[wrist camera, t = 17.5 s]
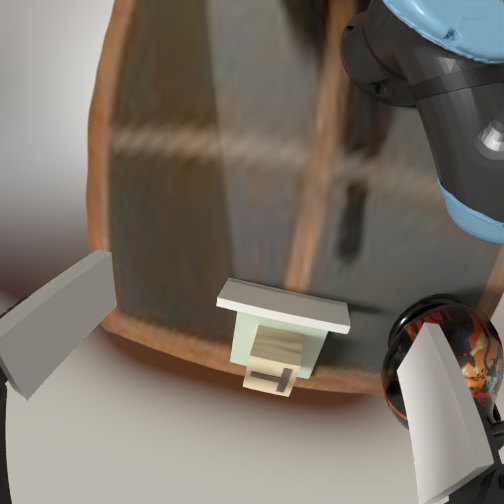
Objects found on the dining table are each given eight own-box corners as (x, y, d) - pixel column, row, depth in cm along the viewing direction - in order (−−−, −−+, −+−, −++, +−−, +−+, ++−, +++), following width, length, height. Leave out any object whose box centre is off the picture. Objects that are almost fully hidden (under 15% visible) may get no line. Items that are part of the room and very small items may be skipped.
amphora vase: (490, 296, 39) (561, 399, 13) (435, 376, 48) (464, 484, 22) (409, 263, 40) (484, 400, 15) (354, 359, 49) (361, 494, 24)
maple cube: (258, 324, 49) (249, 356, 41) (303, 334, 48) (300, 367, 40) (251, 356, 52) (242, 387, 44) (292, 365, 51) (288, 397, 43)
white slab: (229, 277, 47) (217, 297, 41) (346, 302, 45) (350, 326, 39) (227, 292, 48) (215, 313, 42) (341, 317, 46) (343, 341, 40)
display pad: (239, 302, 49) (238, 305, 48) (330, 322, 47) (330, 325, 46) (231, 358, 54) (230, 361, 54) (308, 375, 53) (308, 378, 52)
